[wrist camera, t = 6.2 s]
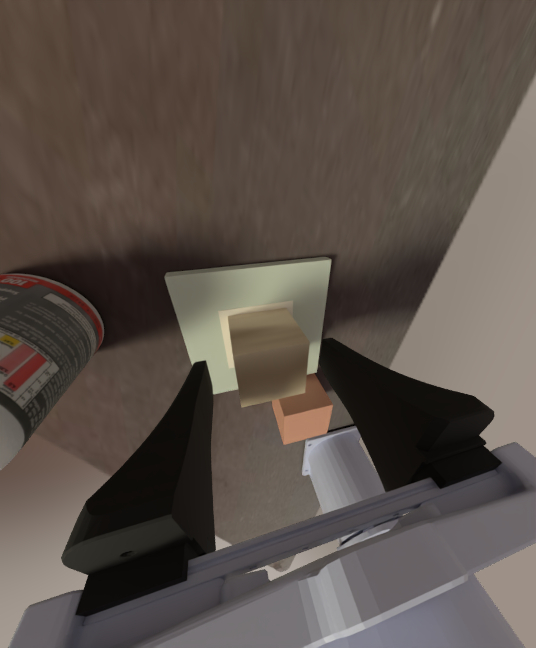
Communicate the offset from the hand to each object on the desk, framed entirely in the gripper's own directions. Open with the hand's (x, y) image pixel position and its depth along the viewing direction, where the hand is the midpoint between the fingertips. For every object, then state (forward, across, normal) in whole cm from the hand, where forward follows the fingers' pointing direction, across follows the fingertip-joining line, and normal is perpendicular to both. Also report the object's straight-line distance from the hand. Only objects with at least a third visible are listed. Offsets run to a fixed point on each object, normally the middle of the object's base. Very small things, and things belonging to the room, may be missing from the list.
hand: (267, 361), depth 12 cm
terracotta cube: (+4, -3, +8) cm, 9 cm away
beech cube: (+3, 0, 0) cm, 3 cm away
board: (+3, 0, 0) cm, 3 cm away
